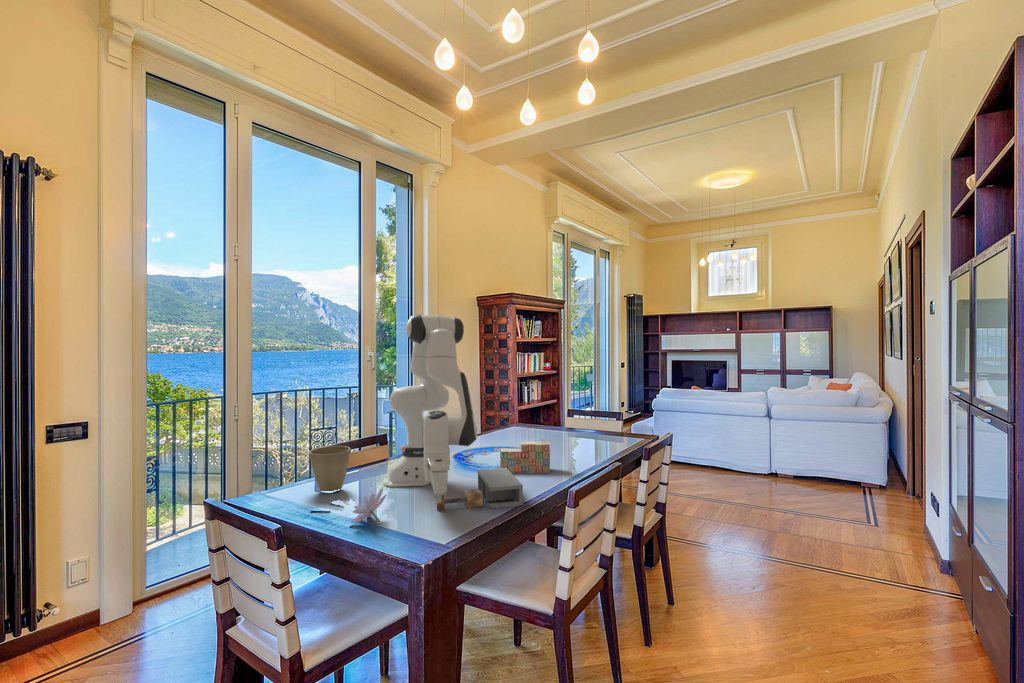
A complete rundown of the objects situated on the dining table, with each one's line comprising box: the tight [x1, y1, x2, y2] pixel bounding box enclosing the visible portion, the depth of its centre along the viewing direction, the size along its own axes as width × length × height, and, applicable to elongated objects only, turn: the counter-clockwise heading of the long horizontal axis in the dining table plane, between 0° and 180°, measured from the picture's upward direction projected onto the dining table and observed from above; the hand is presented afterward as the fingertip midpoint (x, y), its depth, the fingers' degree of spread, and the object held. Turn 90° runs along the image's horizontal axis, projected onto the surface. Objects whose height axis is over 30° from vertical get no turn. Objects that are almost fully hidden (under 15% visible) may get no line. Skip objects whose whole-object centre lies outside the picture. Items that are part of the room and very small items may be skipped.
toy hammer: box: [436, 488, 483, 511], centre depth 174 cm, size 15×5×7 cm, turn 110°
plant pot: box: [309, 445, 351, 491], centre depth 196 cm, size 15×15×16 cm
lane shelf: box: [477, 467, 524, 509], centre depth 185 cm, size 11×25×7 cm, turn 14°
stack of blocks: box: [499, 440, 551, 474], centre depth 220 cm, size 21×6×12 cm, turn 87°
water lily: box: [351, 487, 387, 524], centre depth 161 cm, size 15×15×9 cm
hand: (437, 500), depth 171 cm, fingers closed on toy hammer, 3 cm apart
